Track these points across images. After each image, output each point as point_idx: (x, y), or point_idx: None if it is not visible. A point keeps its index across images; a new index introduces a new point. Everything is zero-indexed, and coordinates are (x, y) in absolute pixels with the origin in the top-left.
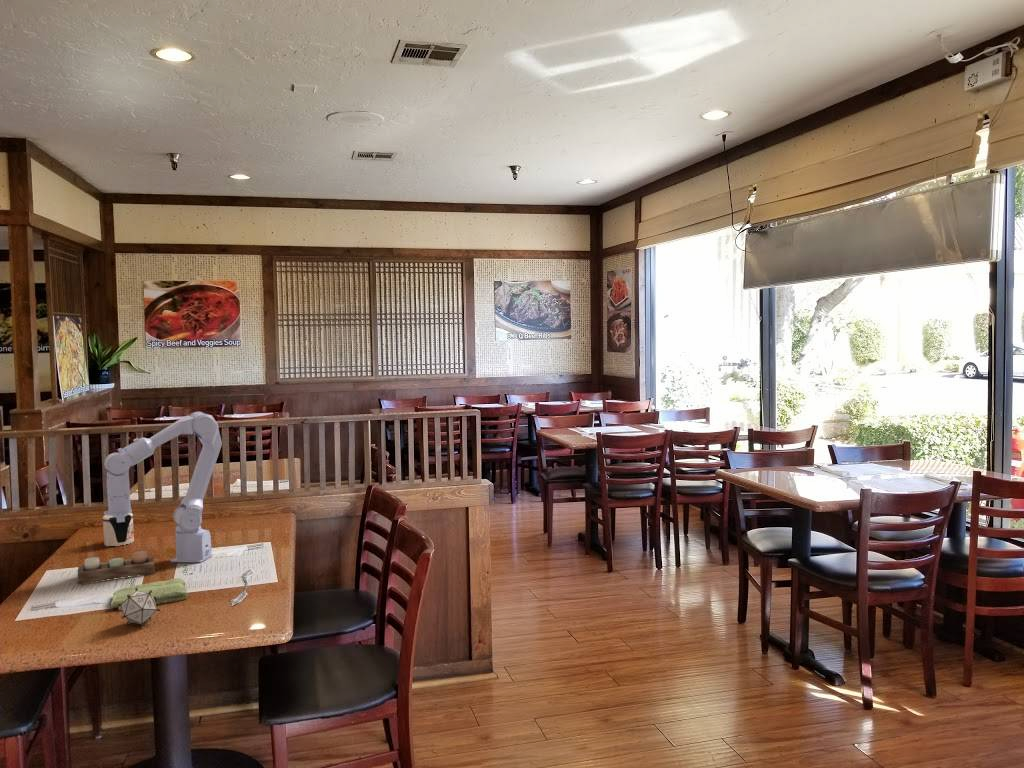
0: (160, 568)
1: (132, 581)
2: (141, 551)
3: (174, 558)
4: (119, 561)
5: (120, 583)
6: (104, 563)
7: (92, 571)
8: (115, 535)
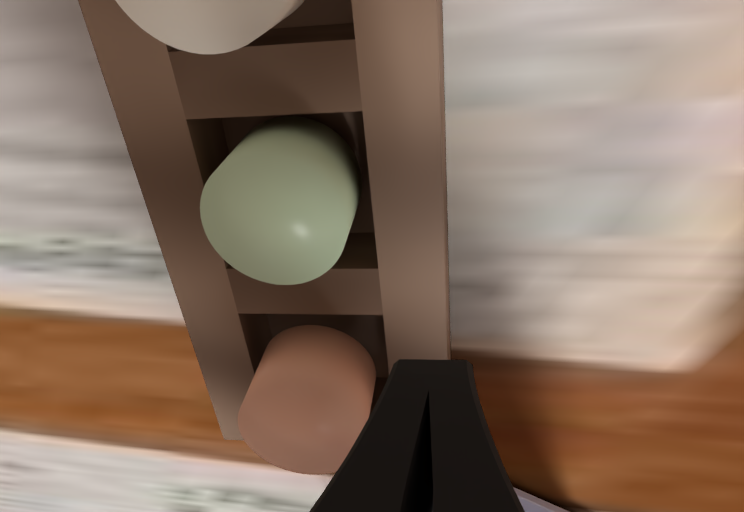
0: None
1: (102, 257)
2: (344, 447)
3: (524, 502)
4: (218, 249)
5: (65, 183)
6: (389, 74)
7: None
8: (360, 442)
